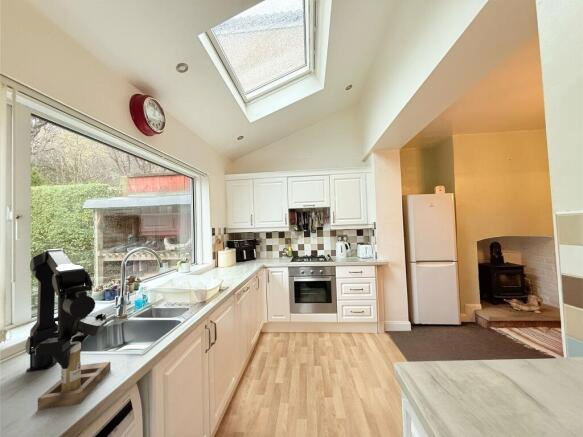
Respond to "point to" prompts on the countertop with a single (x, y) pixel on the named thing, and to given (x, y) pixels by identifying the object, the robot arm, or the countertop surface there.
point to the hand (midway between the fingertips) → (70, 364)
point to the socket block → (88, 381)
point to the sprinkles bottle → (72, 370)
